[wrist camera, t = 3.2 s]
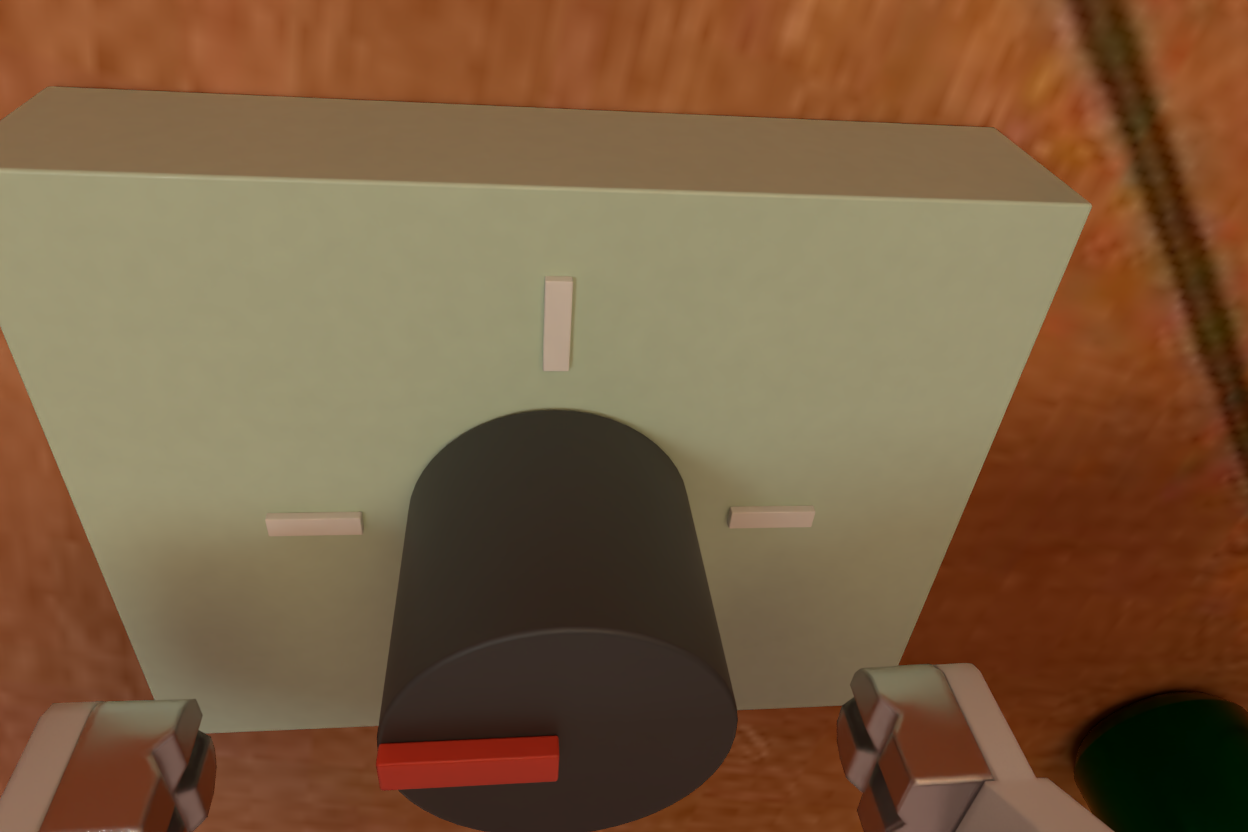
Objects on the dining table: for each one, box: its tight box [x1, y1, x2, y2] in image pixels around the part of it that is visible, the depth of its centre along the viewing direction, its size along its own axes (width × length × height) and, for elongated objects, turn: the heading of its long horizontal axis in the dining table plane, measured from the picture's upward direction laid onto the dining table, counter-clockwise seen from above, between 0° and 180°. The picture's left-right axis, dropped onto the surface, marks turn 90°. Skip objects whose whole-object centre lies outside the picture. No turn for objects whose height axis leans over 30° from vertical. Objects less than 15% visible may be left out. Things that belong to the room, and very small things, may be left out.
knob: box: [376, 410, 738, 832], centre depth 12 cm, size 4×4×4 cm
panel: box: [0, 86, 1092, 733], centre depth 15 cm, size 14×11×3 cm
